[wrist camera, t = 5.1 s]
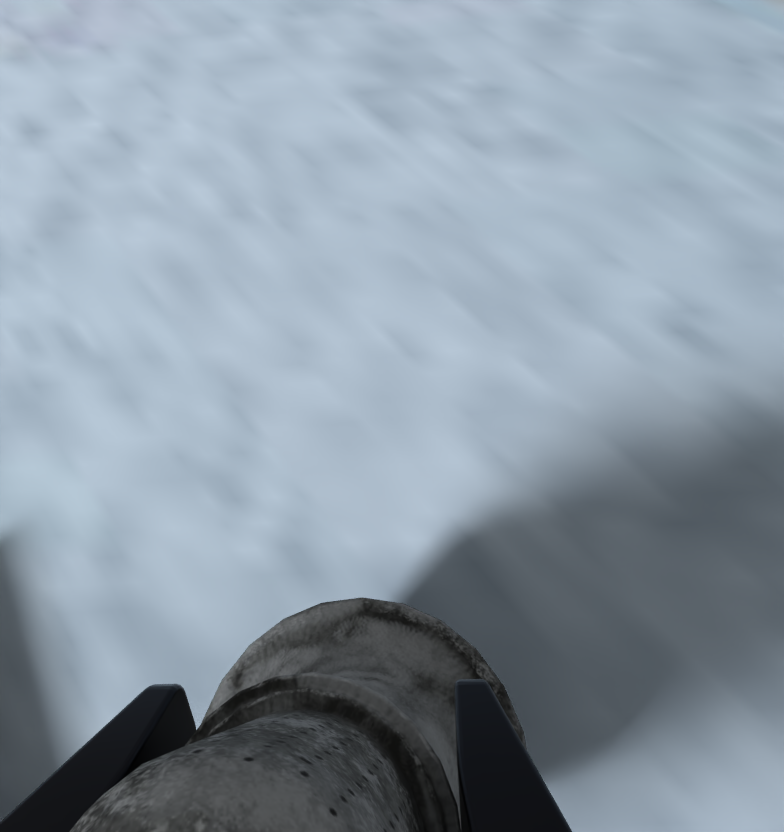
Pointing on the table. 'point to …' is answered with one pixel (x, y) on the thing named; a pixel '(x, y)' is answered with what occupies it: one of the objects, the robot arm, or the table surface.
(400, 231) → the table surface
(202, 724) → the grey chess bishop
